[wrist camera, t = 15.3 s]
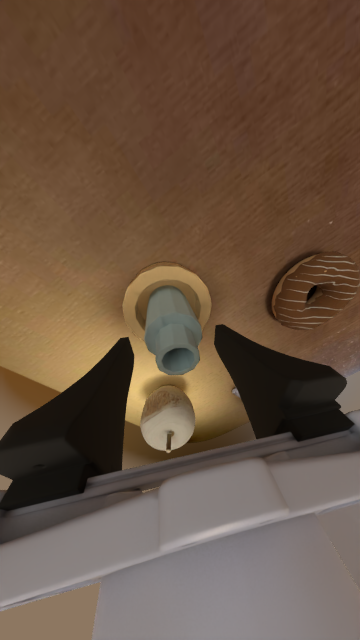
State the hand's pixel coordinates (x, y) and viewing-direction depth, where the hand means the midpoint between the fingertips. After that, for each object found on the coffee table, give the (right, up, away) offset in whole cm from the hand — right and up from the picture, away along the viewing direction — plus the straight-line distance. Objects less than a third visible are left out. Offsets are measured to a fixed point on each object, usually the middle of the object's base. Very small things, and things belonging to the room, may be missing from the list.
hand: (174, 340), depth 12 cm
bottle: (-1, +4, +7) cm, 8 cm away
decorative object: (-2, -12, +16) cm, 20 cm away
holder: (-1, +4, +7) cm, 8 cm away
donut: (+18, +6, +9) cm, 21 cm away
